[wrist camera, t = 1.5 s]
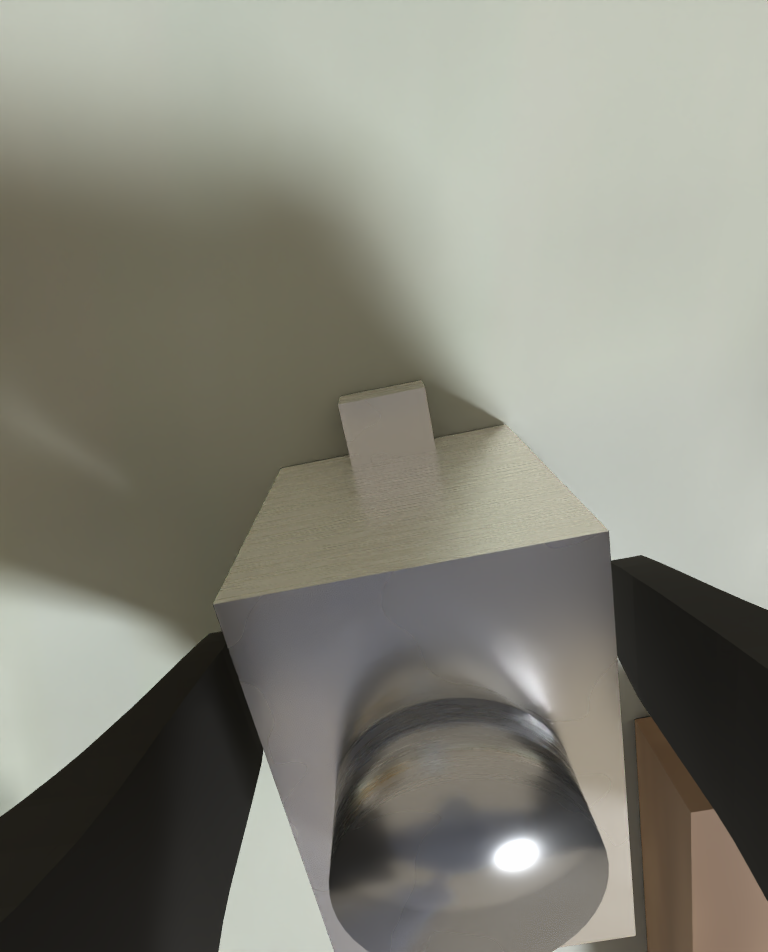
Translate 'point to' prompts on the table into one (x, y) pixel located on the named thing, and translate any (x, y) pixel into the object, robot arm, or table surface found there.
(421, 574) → the housing
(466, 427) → the table surface
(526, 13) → the table surface
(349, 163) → the table surface
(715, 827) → the stand
